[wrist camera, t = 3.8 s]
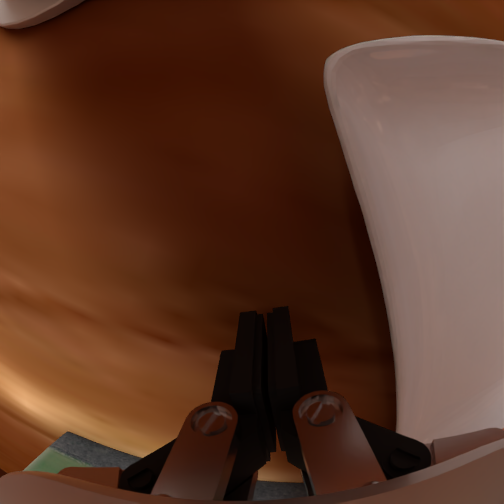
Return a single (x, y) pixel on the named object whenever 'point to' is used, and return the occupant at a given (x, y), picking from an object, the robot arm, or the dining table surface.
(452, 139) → the salad plate
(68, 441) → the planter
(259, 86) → the dining table surface
